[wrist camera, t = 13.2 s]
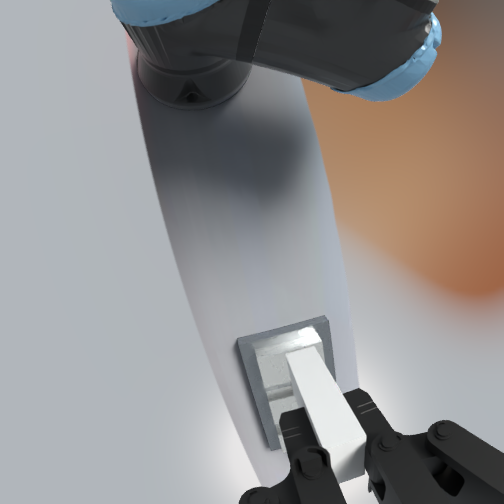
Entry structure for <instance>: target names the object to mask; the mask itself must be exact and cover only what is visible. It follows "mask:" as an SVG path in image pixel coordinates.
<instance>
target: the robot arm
mask: <svg viewBox="0 0 504 504" xmlns="http://www.w3.org/2000/svg"><path fill="white" fill-rule="evenodd" d="M110 1H111V3H112V9H113V12H114V13H115V15H116V17H117V18H118V19H119V20H120V22H121V23H122V25H123V27H124V28H125V30H126V31H127V33H128V34H129V36H130V37H131V39H132V40H133V42H134V43H135V45H136V47H137V48H138V54H137V71H138V75H139V77H140V80H141V82H142V83H143V85H144V86H145V88H146V89H147V91H148V92H149V93H150V94H151V95H152V96H153V97H154V98H155V99H156V100H158V101H159V102H161V103H163V104H165V105H167V106H170V107H173V108H177V109H182V110H199V109H205V108H209V107H212V106H215V105H218V104H220V103H222V102H224V101H226V100H227V99H229V98H230V97H232V96H233V95H234V94H235V93H236V92H238V91H239V89H240V88H241V87H242V86H243V85H244V83H245V82H246V80H247V78H248V76H249V74H250V71H251V68H252V65H257V66H261V67H265V68H269V69H273V70H276V71H280V72H284V73H287V74H291V75H294V76H298V77H301V78H304V79H308V80H310V81H314V82H317V83H320V84H323V85H325V86H328V87H330V88H331V89H332V90H334V91H337V92H339V93H344V94H351V95H355V96H357V97H360V98H363V99H366V100H369V101H388V100H392V99H395V98H397V97H399V96H401V95H403V94H405V93H406V92H408V91H409V90H410V89H412V88H413V87H414V86H415V85H416V84H417V83H418V82H419V81H420V80H421V79H422V78H423V77H424V76H425V75H426V73H427V72H428V71H429V69H430V68H431V66H432V64H433V62H434V61H435V58H436V56H437V52H436V51H435V48H436V47H437V46H439V45H440V43H441V35H442V34H441V28H440V24H439V21H438V20H437V18H436V17H435V16H434V14H433V12H432V11H433V9H434V8H435V6H436V5H437V3H438V1H439V0H110ZM270 1H271V2H270ZM269 4H270V5H269ZM268 7H269V8H268ZM267 10H268V11H267ZM266 13H267V14H266ZM265 16H266V18H265ZM264 20H265V21H264ZM263 23H264V24H263ZM262 26H263V27H262ZM261 29H262V31H261ZM260 33H261V34H260ZM259 36H260V37H259ZM258 39H259V41H258ZM257 43H258V44H257ZM256 46H257V48H256ZM255 50H256V51H255ZM254 53H255V55H254ZM285 355H286V359H287V364H288V369H289V374H290V378H291V383H292V388H293V393H294V396H295V399H296V401H297V404H298V407H299V408H298V409H294V410H291V411H287V412H283V413H281V416H280V419H279V425H280V429H281V432H282V436H283V440H284V443H285V447H286V451H287V454H288V458H289V462H290V467H291V468H290V472H289V474H288V476H287V477H286V478H285V479H284V480H283V481H282V482H280V483H279V484H277V485H275V486H273V487H271V488H268V487H255V488H252V489H250V490H248V491H246V492H245V493H244V494H243V495H242V496H241V498H240V500H239V504H347V503H346V501H345V499H344V496H343V494H342V491H341V489H340V486H339V483H342V482H345V481H348V480H351V479H353V478H356V477H359V476H362V475H364V474H365V469H366V471H367V473H368V475H369V483H368V491H369V492H371V490H373V492H374V494H375V496H376V498H377V500H378V502H379V504H504V453H502V452H501V451H499V450H497V449H496V448H494V447H493V446H491V445H489V444H488V443H486V442H484V441H483V440H481V439H479V438H478V437H477V436H475V435H473V434H472V433H470V432H469V431H467V430H466V429H464V428H462V427H461V426H459V425H458V424H456V423H454V422H452V421H449V420H442V421H438V422H436V423H434V424H432V425H431V426H430V428H429V429H428V432H425V433H420V434H416V435H402V434H401V433H399V432H396V431H394V430H393V429H392V427H391V426H390V424H389V423H388V422H387V420H386V419H385V417H384V416H383V414H382V413H381V411H380V410H379V409H378V408H377V406H376V404H375V403H374V402H373V400H372V399H371V397H370V396H369V394H368V393H367V392H365V391H363V390H361V389H360V388H358V389H355V390H352V391H349V392H347V393H344V394H342V393H341V391H340V389H339V387H338V386H337V384H336V382H335V381H334V379H333V377H332V375H331V374H330V372H329V370H328V369H327V367H326V365H325V363H324V362H323V360H322V358H321V357H320V355H319V353H318V352H317V350H316V348H315V346H312V347H309V348H305V349H302V350H298V351H295V352H291V353H287V354H285Z"/></svg>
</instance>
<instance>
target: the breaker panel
mask: <svg viewBox="0 0 504 504" xmlns="http://www.w3.org/2000/svg"><path fill="white" fill-rule="evenodd" d="M238 345H239V349H240V352H241V356H242V359H243V363H244V366H245V369H246V373H247V376H248V379H249V383H250V386H251V389H252V392H253V396H254V399H255V402H256V405H257V409H258V412H259V415H260V418H261V421H262V424H263V427H264V431H265V434H266V437H267V440H268V443H269V446H270V449H271V451H272V450H276V449H280V448H282V451H283V453H286V452H287V451H286V447H285V443H284V440H283V436H282V432H281V429H280V425H279V419H280V416H281V413H283V412H287V411H291V410H294V409H298V408H299V407H298V404H297V401H296V399H295V396H294V393H293V388H292V383H291V378H290V374H289V369H288V364H287V359H286V355H285V354H287V353H291V352H295V351H298V350H302V349H305V348H309V347H312V346H315V348H316V350H317V352H318V353H319V355H320V357H321V358H322V360H323V362H324V363H325V365H326V367H327V369H328V370H329V372H330V374H331V375H332V377H333V379H334V381H335V382H336V376H335V367H334V358H333V350H332V341H331V333H330V326H329V320H328V319H327V318H326V317H325V315H324V316H320V317H317V318H313V319H310V320H306V321H303V322H299V323H296V324H292V325H288V326H284V327H281V328H277V329H273V330H269V331H265V332H261V333H257V334H253V335H249V336H245V337H241V338H238Z"/></svg>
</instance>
